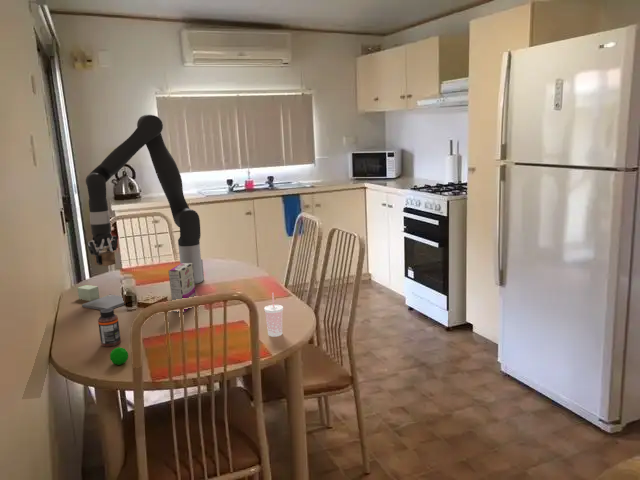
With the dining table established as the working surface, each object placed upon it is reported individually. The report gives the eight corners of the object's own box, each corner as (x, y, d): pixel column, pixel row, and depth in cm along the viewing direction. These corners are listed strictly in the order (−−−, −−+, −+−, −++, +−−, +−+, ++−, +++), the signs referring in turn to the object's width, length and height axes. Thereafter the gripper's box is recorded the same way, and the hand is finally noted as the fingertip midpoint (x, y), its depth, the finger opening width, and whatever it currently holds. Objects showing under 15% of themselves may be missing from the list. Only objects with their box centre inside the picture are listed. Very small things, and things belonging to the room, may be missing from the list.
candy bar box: (185, 303, 209) (181, 262, 206) (197, 303, 208) (193, 262, 205) (171, 312, 199) (167, 270, 195) (184, 313, 198) (180, 270, 194)
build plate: (110, 296, 222) (110, 294, 222) (135, 300, 215) (135, 298, 215) (82, 306, 210) (82, 304, 210) (107, 311, 203) (107, 308, 203)
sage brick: (88, 296, 224) (86, 284, 223) (99, 298, 221) (98, 286, 220) (78, 299, 220) (77, 287, 220) (90, 301, 217) (88, 289, 216)
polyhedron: (116, 360, 158) (114, 344, 157) (131, 360, 157) (130, 344, 156) (107, 367, 153) (105, 351, 152) (124, 367, 152) (122, 351, 151)
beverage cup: (282, 337, 170) (279, 295, 167) (263, 337, 171) (260, 295, 168) (286, 330, 176) (284, 290, 173) (268, 330, 177) (266, 289, 174)
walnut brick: (104, 262, 224) (102, 250, 223) (115, 263, 220) (114, 252, 219) (95, 264, 220) (93, 252, 219) (106, 266, 216) (105, 254, 215)
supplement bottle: (104, 340, 173) (100, 307, 171) (123, 339, 174) (119, 306, 171) (98, 348, 167) (94, 313, 165) (117, 346, 168) (113, 312, 166)
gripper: (91, 225, 209) (96, 267, 212) (120, 219, 221) (125, 259, 224) (79, 224, 212) (84, 266, 216) (108, 219, 224) (113, 258, 228)
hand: (105, 262), depth 220 cm, fingers closed on walnut brick, 4 cm apart
